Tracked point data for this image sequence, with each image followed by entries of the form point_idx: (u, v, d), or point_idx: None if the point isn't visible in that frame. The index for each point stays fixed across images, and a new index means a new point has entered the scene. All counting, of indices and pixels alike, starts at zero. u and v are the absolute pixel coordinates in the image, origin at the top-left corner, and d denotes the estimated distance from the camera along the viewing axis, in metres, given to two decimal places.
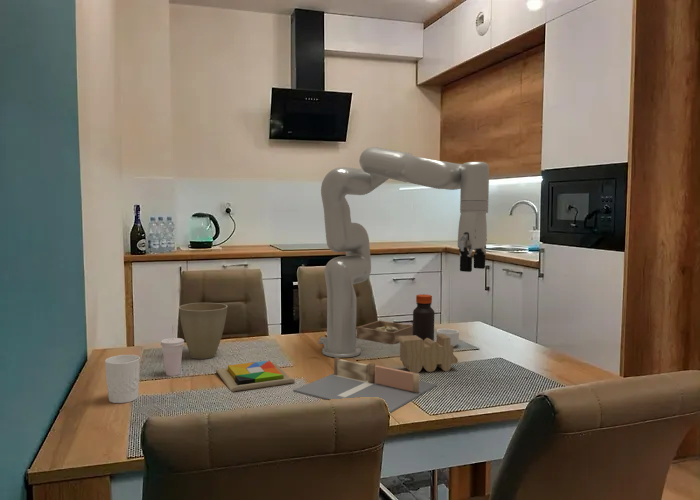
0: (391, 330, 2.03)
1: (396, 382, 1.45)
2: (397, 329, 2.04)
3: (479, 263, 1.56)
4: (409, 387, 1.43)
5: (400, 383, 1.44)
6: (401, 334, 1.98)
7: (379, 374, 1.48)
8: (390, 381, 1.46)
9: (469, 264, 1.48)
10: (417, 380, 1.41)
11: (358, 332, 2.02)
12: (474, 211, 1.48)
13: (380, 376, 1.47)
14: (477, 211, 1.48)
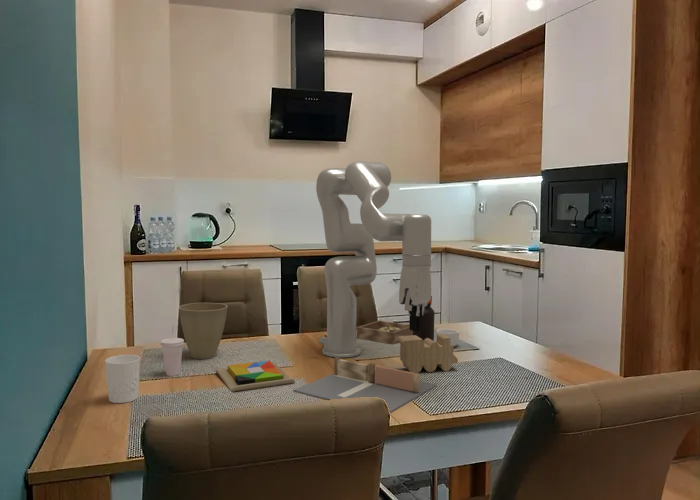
0: (394, 331, 2.02)
1: (396, 382, 1.45)
2: None
3: None
4: (409, 387, 1.43)
5: (400, 383, 1.44)
6: (401, 334, 1.98)
7: (379, 374, 1.48)
8: (390, 381, 1.46)
9: (418, 323, 1.46)
10: (417, 380, 1.41)
11: (358, 332, 2.02)
12: (415, 266, 1.42)
13: (380, 376, 1.47)
14: (418, 266, 1.42)
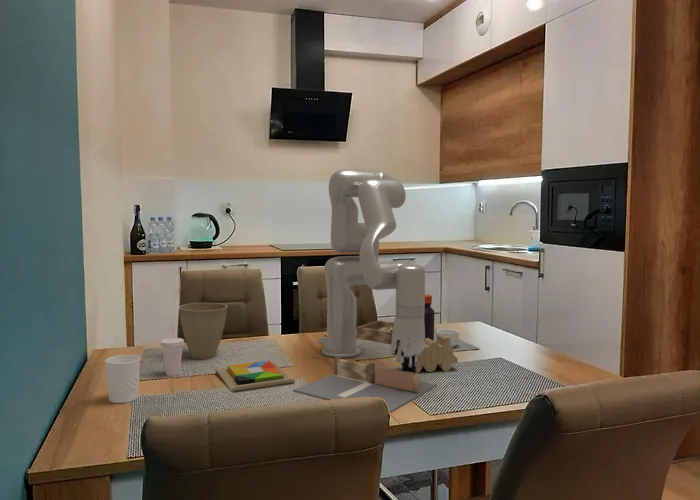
0: None
1: (396, 382, 1.45)
2: None
3: None
4: (409, 387, 1.43)
5: (400, 383, 1.44)
6: None
7: (379, 374, 1.48)
8: (390, 381, 1.46)
9: None
10: (417, 380, 1.41)
11: (358, 332, 2.02)
12: (407, 318, 1.42)
13: (380, 376, 1.47)
14: (410, 318, 1.41)
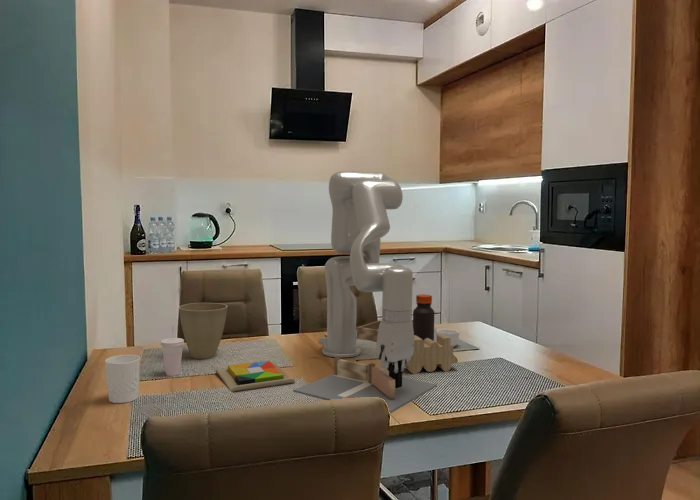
0: None
1: (381, 385, 1.42)
2: None
3: None
4: (387, 392, 1.38)
5: (382, 387, 1.41)
6: None
7: (373, 375, 1.47)
8: (378, 383, 1.44)
9: (396, 380, 1.41)
10: (391, 386, 1.36)
11: (358, 332, 2.02)
12: (392, 322, 1.37)
13: (373, 377, 1.47)
14: (395, 322, 1.37)
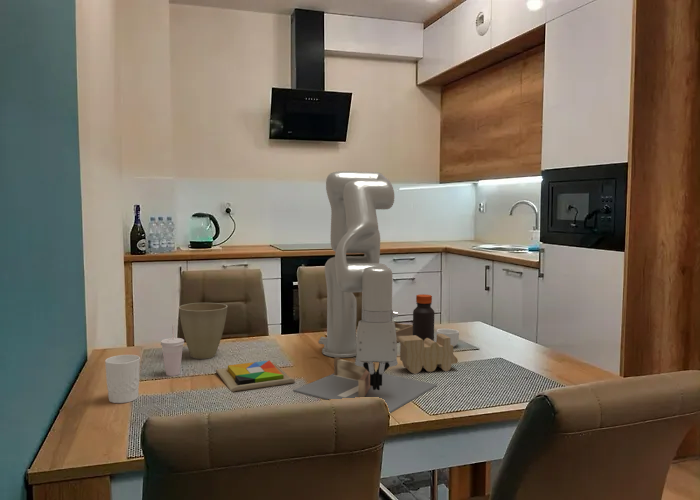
0: None
1: None
2: None
3: (376, 383, 1.40)
4: None
5: None
6: (401, 334, 1.98)
7: None
8: None
9: (373, 382, 1.39)
10: (359, 386, 1.36)
11: None
12: (363, 321, 1.37)
13: None
14: (365, 322, 1.36)
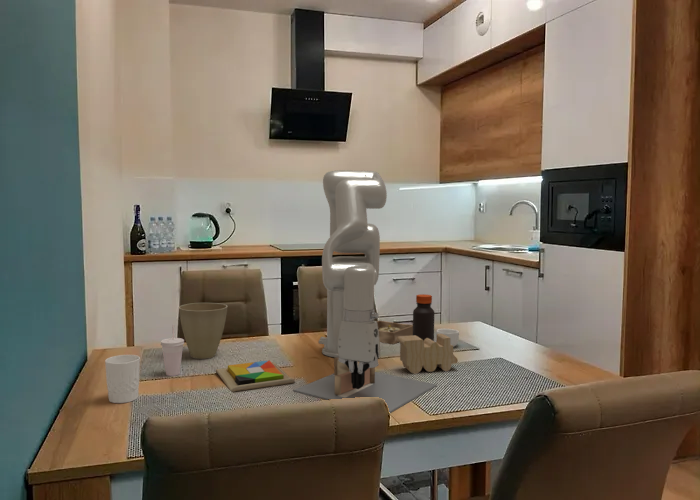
0: (394, 331, 2.02)
1: None
2: None
3: None
4: None
5: None
6: (401, 334, 1.98)
7: None
8: None
9: None
10: None
11: None
12: (343, 319, 1.39)
13: None
14: (343, 319, 1.38)
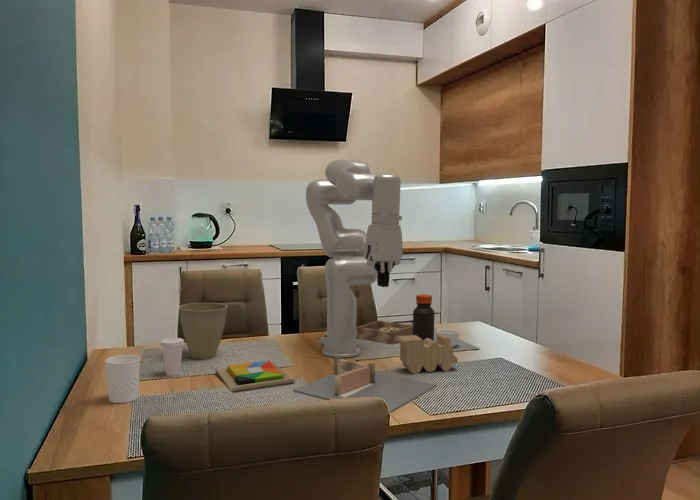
0: (394, 331, 2.02)
1: None
2: None
3: None
4: None
5: None
6: (401, 334, 1.98)
7: None
8: None
9: (383, 280, 1.52)
10: None
11: (358, 332, 2.02)
12: (378, 224, 1.49)
13: None
14: (380, 224, 1.48)
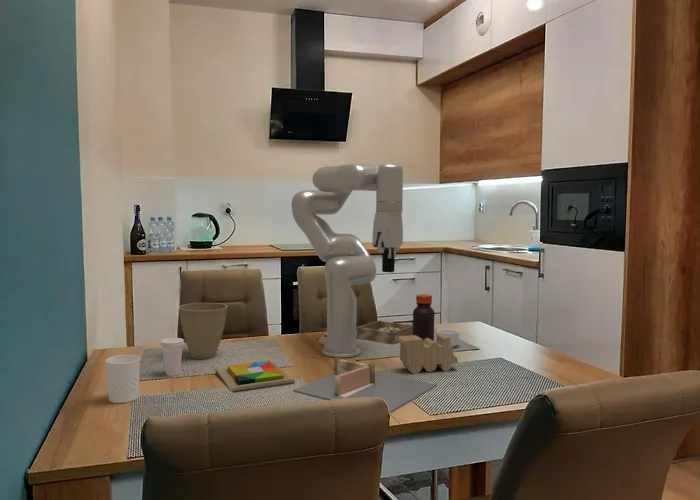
0: (394, 331, 2.02)
1: None
2: None
3: None
4: None
5: None
6: (401, 334, 1.98)
7: None
8: None
9: (390, 265, 1.59)
10: None
11: (358, 332, 2.02)
12: (387, 211, 1.55)
13: None
14: (390, 211, 1.55)
